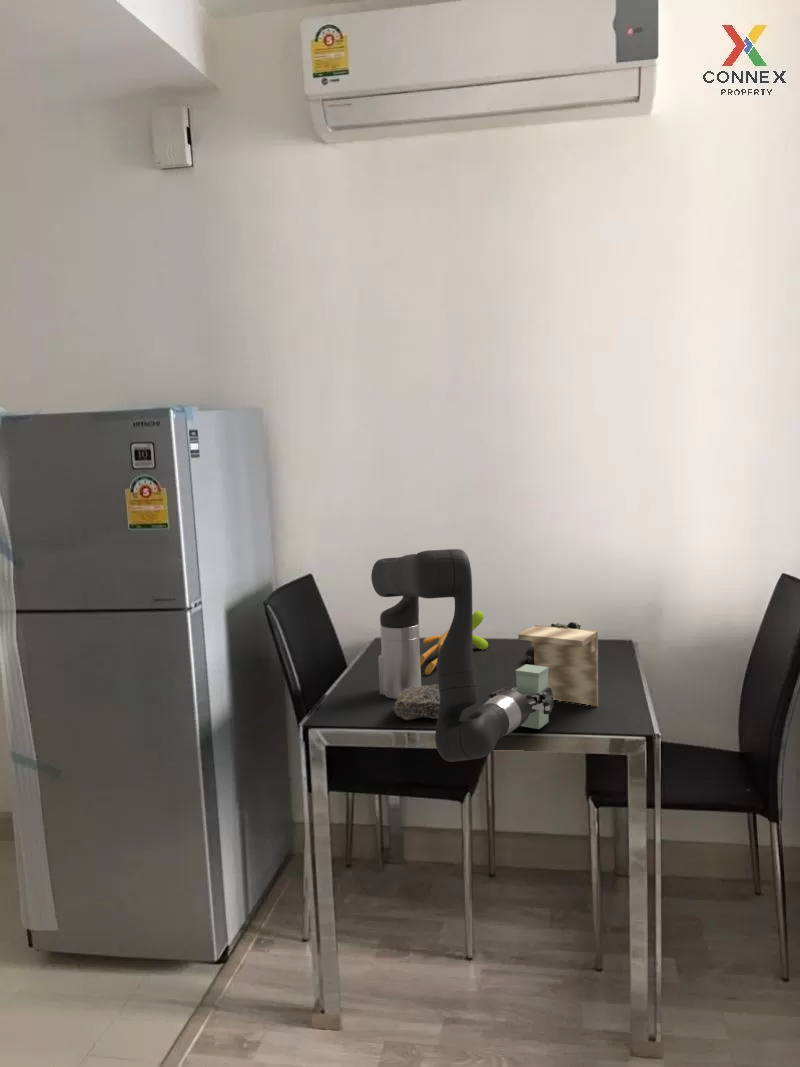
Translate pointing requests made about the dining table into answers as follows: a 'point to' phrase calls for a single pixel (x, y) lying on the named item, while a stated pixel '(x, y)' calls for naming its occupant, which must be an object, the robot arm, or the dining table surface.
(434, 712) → the rock
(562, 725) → the dining table surface
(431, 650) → the toy
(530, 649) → the hiking shoe
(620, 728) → the dining table surface
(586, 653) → the shelf
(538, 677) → the tin
